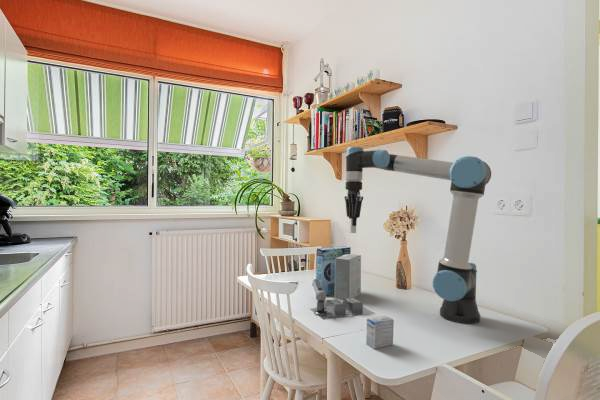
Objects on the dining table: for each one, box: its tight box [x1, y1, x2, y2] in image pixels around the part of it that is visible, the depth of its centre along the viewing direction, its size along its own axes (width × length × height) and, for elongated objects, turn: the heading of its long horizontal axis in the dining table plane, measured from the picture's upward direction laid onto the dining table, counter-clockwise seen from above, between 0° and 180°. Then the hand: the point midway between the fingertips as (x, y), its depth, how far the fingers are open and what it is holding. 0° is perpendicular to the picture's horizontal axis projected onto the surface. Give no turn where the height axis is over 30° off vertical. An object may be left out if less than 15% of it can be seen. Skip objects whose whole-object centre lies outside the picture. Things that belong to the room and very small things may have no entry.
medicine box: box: [365, 315, 395, 350], centre depth 115 cm, size 8×4×9 cm, turn 118°
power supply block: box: [325, 298, 346, 315], centre depth 147 cm, size 8×5×4 cm, turn 22°
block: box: [342, 297, 364, 314], centre depth 149 cm, size 8×5×4 cm, turn 22°
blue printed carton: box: [315, 245, 352, 296], centre depth 179 cm, size 20×5×23 cm, turn 126°
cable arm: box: [311, 278, 327, 301], centre depth 154 cm, size 25×4×4 cm, turn 3°
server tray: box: [309, 300, 377, 320], centre depth 148 cm, size 14×25×6 cm, turn 112°
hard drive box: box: [334, 253, 362, 301], centre depth 171 cm, size 16×8×20 cm, turn 149°
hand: (352, 232), depth 161 cm, fingers closed
